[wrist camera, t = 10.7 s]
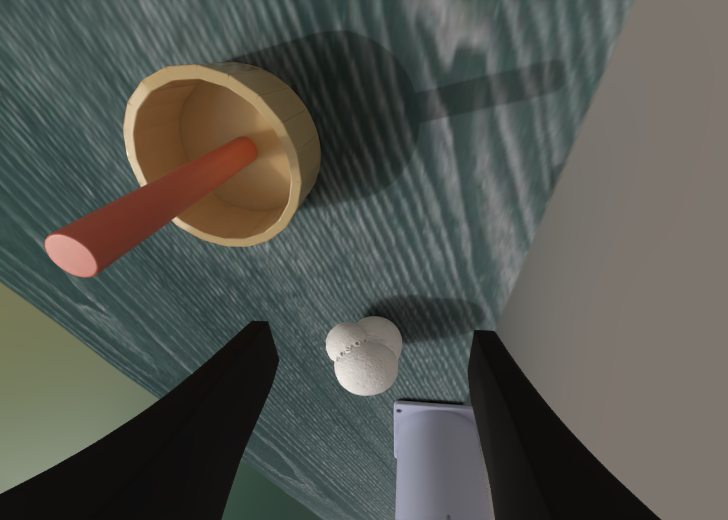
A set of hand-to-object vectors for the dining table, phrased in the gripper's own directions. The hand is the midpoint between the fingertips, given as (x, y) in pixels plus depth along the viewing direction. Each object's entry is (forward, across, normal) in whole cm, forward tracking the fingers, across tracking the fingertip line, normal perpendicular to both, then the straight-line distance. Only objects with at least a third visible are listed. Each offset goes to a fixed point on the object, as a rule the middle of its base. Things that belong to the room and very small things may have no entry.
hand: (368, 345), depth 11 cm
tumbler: (+10, +8, -5) cm, 13 cm away
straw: (+9, +8, -5) cm, 13 cm away
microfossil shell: (+10, +2, +8) cm, 13 cm away
